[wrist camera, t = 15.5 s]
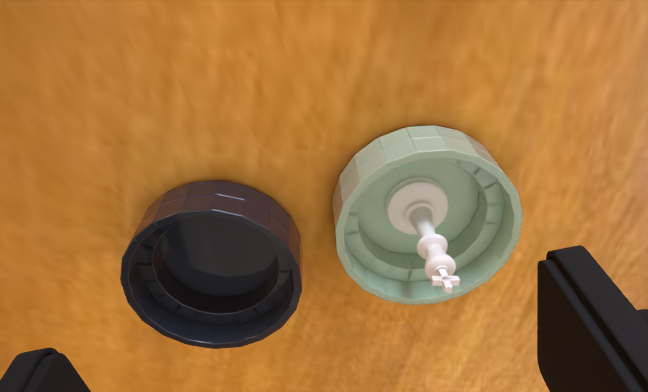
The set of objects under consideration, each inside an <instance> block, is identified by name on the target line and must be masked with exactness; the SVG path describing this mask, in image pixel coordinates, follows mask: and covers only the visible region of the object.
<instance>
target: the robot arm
mask: <svg viewBox="0 0 648 392" xmlns="http://www.w3.org/2000/svg"><path fill="white" fill-rule="evenodd" d="M537 358H538V365H539V368H540V372H541V374H542V377H543V379H544V381H545V383H546V385H547V387H548V389H549V391H550V392H648V309H641V310H636V309H635V308H634V307H633V305H632V304H631V303H630V302H629V301H628V299H627V298H626V297H625V296H624V295H623V293H622V292H621V291H620V290H619V288H618V287H617V286H616V285H615V284H614V282H613V281H612V280H611V279H610V278H609V276H608V275H607V274H606V273H605V271H604V270H603V269H602V268H601V267H600V265H599V264H598V263H597V262H596V261H595V259H594V258H593V257H592V256H591V254H590V253H589V252H588V251H587V250H586V249H585V248H584V247H583V246H580V245H579V246H573V247H568V248H563V249H558V250H553V251H549V252H548V253H547V256H546V260H543V261H539V263H538V331H537ZM0 392H91V391H90V390H89V388H88V387H87V385H86V384H85V383H84V381H83V380H82V378H81V377H80V376H79V374H78V373H77V371H76V370H75V368H74V367H73V366H72V364H71V363H70V361H69V360H68V358H67V357H66V356H65V355H64V354H62V353H58V352H57V351H56V350H55V349H53V348H44V349H39V350H34V351H29V352H24V353H21V354H19V355H17V356H16V358H15V359H14V360H13V361H12V363H11V365H10V366H9V368H8V369H7V371H6V372H5V374H4V376H3V377H2V379H1V380H0Z"/></svg>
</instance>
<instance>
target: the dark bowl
mask: <svg viewBox="0 0 648 392" xmlns="http://www.w3.org/2000/svg"><path fill="white" fill-rule="evenodd" d="M120 280H121V284H122V287H123V290H124V293H125V296H126V299H127V301H128V303H129V305H130V306H131V307H132V308H133V310H134V311H135V312H136V313H137V315H138V316H139V317H140V318H141V320H142V321H144V322H145V323H146V324H148V325H149V326H151V327H152V328H154V329H155V330H156V331H158V332H159V333H161V334H162V335H164V336H166V337H169V338H171V339H174V340H177V341H179V342H182V343H184V344H187V345H192V346H199V347H205V348H212V349H213V348H214V349H219V348H233V347H241V346H244V345H248V344H251V343H254V342H257V341H260V340H263V339H264V338H266V337H268V336H269V335H271V334H272V333H274V332H275V331H277V330H278V329H280V328H281V327H283V325H284V324H285V323H286V322H287V320H288V319H289V318H290V317H291V315H292V314H293V313H294V312H295V310H296V308H297V305H298V302H299V298H300V295H301V292H302V249H301V240H300V235H299V233H298V231H297V229H296V227H295V225H294V223H293V221H292V219H291V217H290V216H289V215H288V214H287V213H286V212H285V211H284V210H283V209H282V208H281V207H280V206H279V205H278V204H277V203H276V202H275V201H274V200H273V199H271V198H270V197H268V196H266V195H264V194H262V193H260V192H258V191H256V190H254V189H252V188H250V187H247V186H245V185H241V184H236V183H231V182H226V181H221V180H220V181H219V180H218V181H204V182H193V183H192V182H191V183H189V184H186V185H183V186H181V187H178V188H175V189H173V190H170V191H168V192H166V193H165V194H164V195H163V196H161V197H160V198H159V199H158V200H157V201H155V202H154V203H153V204H152V205H151V206H149V208H148V209H147V211H146V213H145V215H144V217H143V218H142V220H141V222H140V224H139V226H138V228H137V230H136V232H135V234H134V236H133V238H132V240H131V241H130V243H129V245H128V247H127V249H126V251H125V253H124V255H123V257H122V264H121V278H120Z"/></svg>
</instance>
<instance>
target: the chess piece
mask: <svg viewBox="0 0 648 392" xmlns="http://www.w3.org/2000/svg"><path fill="white" fill-rule="evenodd" d="M448 207H449V203H448V197H447V194H446V191H445V189H444V188H443V187H442V186H441V185H440V184H439V183H438V182H436V181H435V180H433V179H430V178H425V177H414V178H410V179H407V180H404V181H402V182H400V183H399V184H397V185H396V186H395V187H394V188H393V189H392V190H391V191H390V193H389V194H388V196H387V198H386V202H385V213H386V216H387V218H388V219H389V221H390V223H391V224H392V225H393V226H394V227H395V228H396V229H397V230H399V231H401V232H403V233H407V234H418V235H419V236H420V238H421V239H420V240H419V242H418V243H417V247H416V249H417V252H418V254H419V255H420V256H421V257H422V258H423V259H426V262H425V274H426V276H427V277H428V278H430V279H431V284H432V286H442V287H443V290H444V293H451V292H452V286H459V282H460V279H459V277H458V276H452V275H453V274H454V272H455V270H456V264H455V262H454V260H453V259H452V258H451V257H450V256H449V255H447V254H446V251H447V246H448V244H447V240H446V239H445V238H444V237H443V236H442V235H439V234H435V229H434V228H436V227H437V226H438V225H439V224H440V223H441V222H442V221H443V220H444V218H445V217H446V215H447V212H448Z"/></svg>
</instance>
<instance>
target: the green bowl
mask: <svg viewBox="0 0 648 392" xmlns="http://www.w3.org/2000/svg"><path fill="white" fill-rule="evenodd" d="M414 177H425V178H430V179H433V180H435V181H436V182H438V183H439V184H440V185H441V186H442V187H443V188H444V189H445V191H446V194H447V197H448V203H449V207H448V212H447V215H446V217H445V218H444V220H443V221H442V222H441V223H440V224H439V225H438V226H437V227H436V228H434V229H435V234H439V235H442V236H443V237H444V238H445V239H446V240H447V244H448V246H447V251H446V254H447V255H449V256H450V257H451V258H452V259H453V260H454V262H455V264H456V270H455V272H454V274H453V275H452V276H458V277H459V279H460V282H459V286H452V292H451V293H444V290H443V287H442V286H432V284H431V279H430V278H428V277H427V276H426V274H425V262H426V259H423V258H422V257H421V256H420V255H419V254H418V252H417V249H416V247H417V243H418V242H419V240H420V239H421V238H420V236H419V235H418V234H407V233H403V232H401V231H399V230H397V229H396V228H395V227H394V226H393V225H392V224H391V223H390V221H389V219H388V218H387V216H386V213H385V202H386V198H387V196H388V194H389V193H390V191H391V190H392V189H393V188H394V187H395V186H396V185H397V184H399V183H400V182H402V181H404V180H407V179H410V178H414ZM332 204H333V221H334V231H335V241H336V252H337V255H338V257H339V259H340V261H341V263H342V265H343V267H344V269H345V271H346V273H347V274H348V275H349V276H350V277H351V278H352V279H353V280H354V281H355V282H356V283H357V284H358V285H359V286H360V287H361V288H362V289H363V290H365V291H367V292H369V293H371V294H373V295H375V296H377V297H379V298H382V299H384V300H386V301H391V302H397V303H403V304H408V305H418V304H433V303H440V302H443V301H446V300H450V299H453V298H456V297H459V296H463V295H465V294H467V293H468V292H470V291H472V290H473V289H475V288H477V287H478V286H480V285H482V284H484V283H485V282H487V281H488V280H489V279H490V278H491V277H492V276H493V275H494V274H495V273H496V272H497V271H498V270H499V269H500V268H501V267H503V266H504V265H505V264H506V262H507V260H508V259H509V257H510V255H511V253H512V251H513V250H514V248H515V246H516V244H517V242H518V240H519V236H520V230H521V225H522V219H523V213H522V209H521V204H520V200H519V195H518V192H517V190H516V189H515V187H514V186H513V184H512V183H511V182H510V180H509V179H508V177H507V176H506V175H505V173H504V172H503V171H502V169H501V168H500V167H499V165H498V164H497V163H496V161H495V160H494V159H493V157H492V156H491V155H490V153H489V152H488V151H487V149H486V148H485V147H484V146H483V145H482V144H481V143H479V142H478V141H476V140H474V139H473V138H471V137H470V136H468V135H467V134H465V133H464V132H461V131H458V130H454V129H450V128H445V127H441V126H437V125H435V126H434V125H430V126H416V127H406V128H402V129H399V130H397V131H394V132H391V133H389V134H386V135H383V136H381V137H379V138H376V139H375V140H374V141H372V142H371V143H370V144H368V145H367V146H366V147H364V148H363V149H362V150H360V151H359V152H358V153H356V155H354V156H353V158H352V159H351V161H350V162H349V163H348V165H347V166H346V167H345V169H344V170H343V172H342V173H341V174H340V176H339V179H338V182H337V185H336V188H335V192H334V195H333V198H332Z"/></svg>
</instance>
